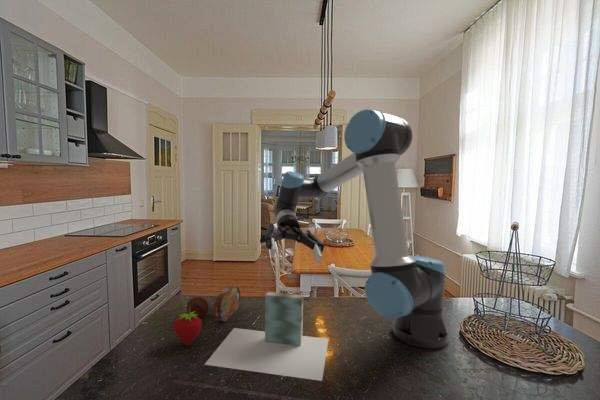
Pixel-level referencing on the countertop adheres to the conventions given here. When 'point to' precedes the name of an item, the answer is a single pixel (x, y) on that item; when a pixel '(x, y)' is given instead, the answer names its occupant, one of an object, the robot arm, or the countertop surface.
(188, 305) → the potato
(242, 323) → the countertop surface
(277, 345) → the mat
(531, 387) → the countertop surface
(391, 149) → the robot arm
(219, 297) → the tin
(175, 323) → the strawberry
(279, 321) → the board
